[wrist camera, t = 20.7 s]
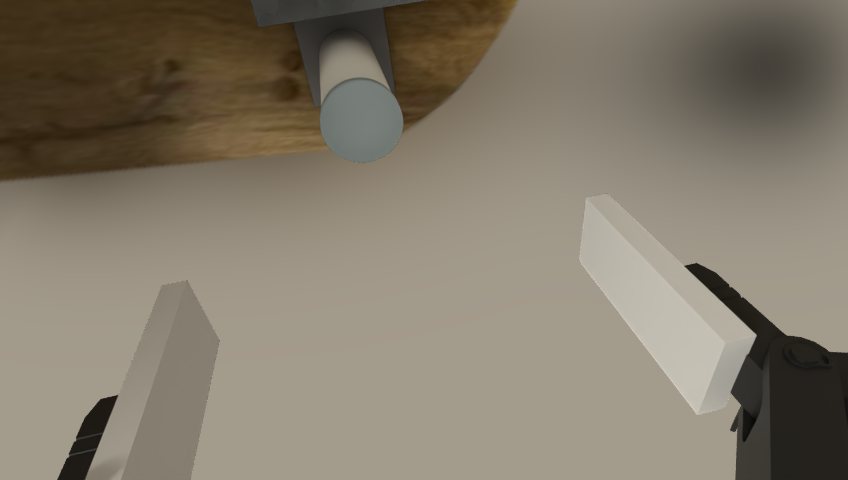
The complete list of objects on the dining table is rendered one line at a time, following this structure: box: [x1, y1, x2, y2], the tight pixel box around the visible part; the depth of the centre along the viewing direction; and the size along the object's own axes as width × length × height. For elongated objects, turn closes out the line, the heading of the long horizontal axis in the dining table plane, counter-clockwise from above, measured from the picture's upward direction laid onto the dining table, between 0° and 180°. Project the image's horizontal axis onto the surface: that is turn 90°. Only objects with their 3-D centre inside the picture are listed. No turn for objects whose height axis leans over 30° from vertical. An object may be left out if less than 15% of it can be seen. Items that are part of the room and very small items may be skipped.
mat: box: [293, 7, 396, 107], centre depth 39 cm, size 7×7×1 cm
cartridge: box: [319, 29, 403, 163], centre depth 32 cm, size 5×5×15 cm
